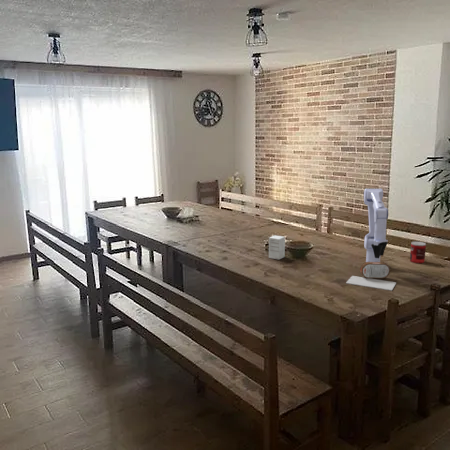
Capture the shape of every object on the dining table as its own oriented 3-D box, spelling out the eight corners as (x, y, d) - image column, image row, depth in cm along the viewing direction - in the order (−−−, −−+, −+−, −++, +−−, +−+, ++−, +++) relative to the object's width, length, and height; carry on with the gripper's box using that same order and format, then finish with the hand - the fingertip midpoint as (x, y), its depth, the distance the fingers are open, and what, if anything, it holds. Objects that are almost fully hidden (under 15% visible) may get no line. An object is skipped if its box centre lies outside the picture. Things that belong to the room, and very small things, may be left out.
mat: (352, 276, 236) (352, 275, 236) (396, 283, 225) (396, 282, 225) (345, 283, 226) (345, 282, 226) (391, 290, 215) (391, 289, 215)
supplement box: (274, 255, 277) (274, 235, 274) (285, 256, 273) (285, 236, 270) (268, 257, 271) (268, 237, 268) (279, 259, 267) (279, 239, 264)
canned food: (413, 258, 266) (414, 240, 263) (426, 261, 260) (428, 243, 258) (407, 261, 261) (408, 243, 258) (421, 264, 255) (422, 245, 253)
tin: (387, 277, 234) (389, 261, 233) (390, 279, 231) (391, 263, 230) (359, 277, 233) (360, 261, 232) (361, 278, 230) (362, 262, 229)
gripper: (384, 233, 227) (383, 260, 229) (391, 230, 239) (390, 255, 241) (370, 232, 231) (369, 258, 233) (378, 228, 243) (376, 253, 245)
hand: (378, 256), depth 237 cm, fingers open, 7 cm apart
